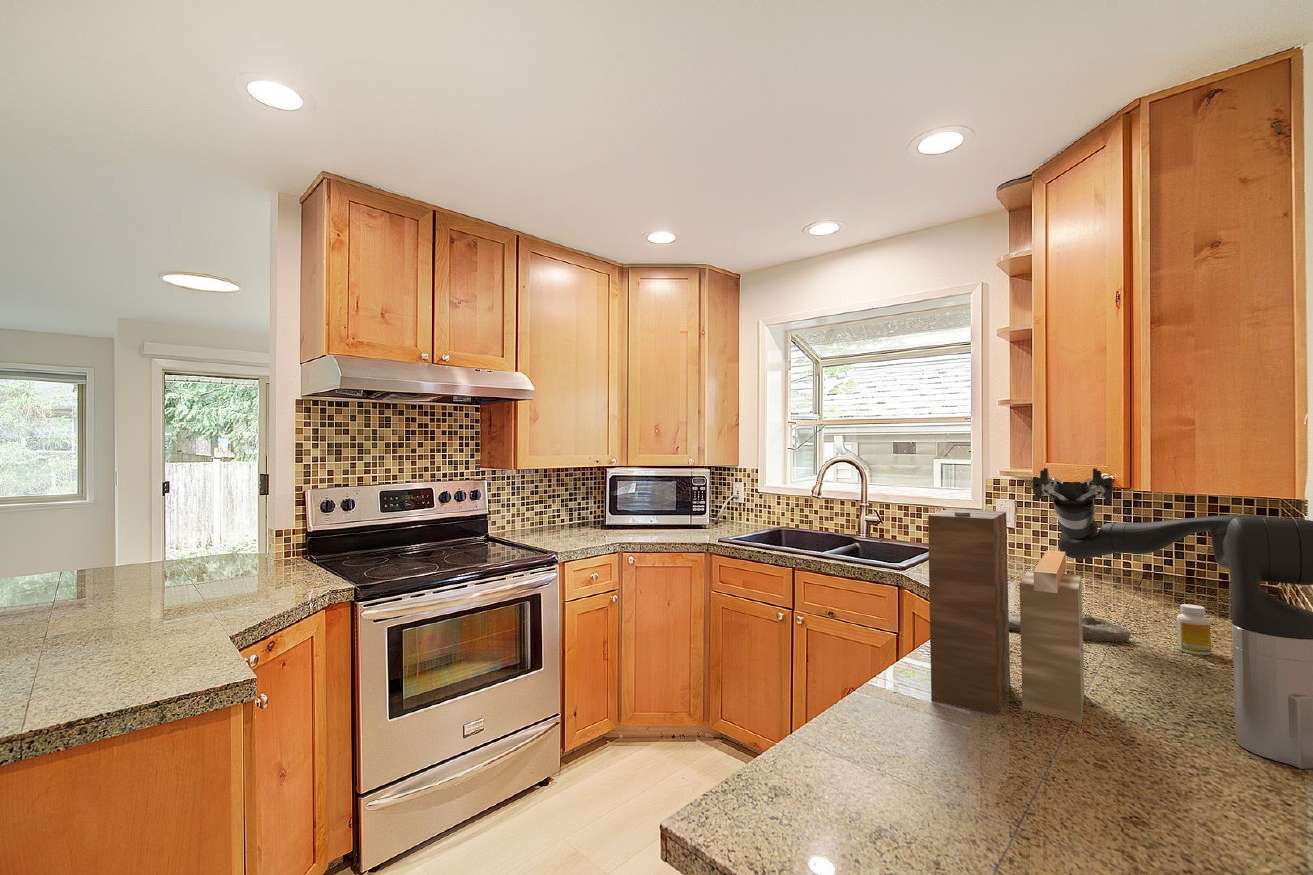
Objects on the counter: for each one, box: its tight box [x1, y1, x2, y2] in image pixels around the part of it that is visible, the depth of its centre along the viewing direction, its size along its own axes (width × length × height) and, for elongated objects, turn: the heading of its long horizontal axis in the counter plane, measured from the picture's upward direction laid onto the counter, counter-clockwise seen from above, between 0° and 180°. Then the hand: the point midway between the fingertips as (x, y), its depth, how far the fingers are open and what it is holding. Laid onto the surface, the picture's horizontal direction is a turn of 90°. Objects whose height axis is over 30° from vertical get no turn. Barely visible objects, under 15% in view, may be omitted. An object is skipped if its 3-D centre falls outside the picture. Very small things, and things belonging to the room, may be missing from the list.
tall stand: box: [927, 508, 1011, 716], centre depth 106 cm, size 16×10×33 cm, turn 143°
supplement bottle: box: [1176, 603, 1212, 656], centre depth 127 cm, size 5×5×10 cm
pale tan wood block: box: [1033, 550, 1067, 593], centre depth 103 cm, size 26×3×3 cm, turn 143°
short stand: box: [1019, 569, 1085, 724], centre depth 102 cm, size 14×8×21 cm, turn 143°
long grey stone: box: [1009, 612, 1131, 643], centre depth 143 cm, size 35×5×10 cm
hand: (1069, 471), depth 124 cm, fingers open, 8 cm apart
